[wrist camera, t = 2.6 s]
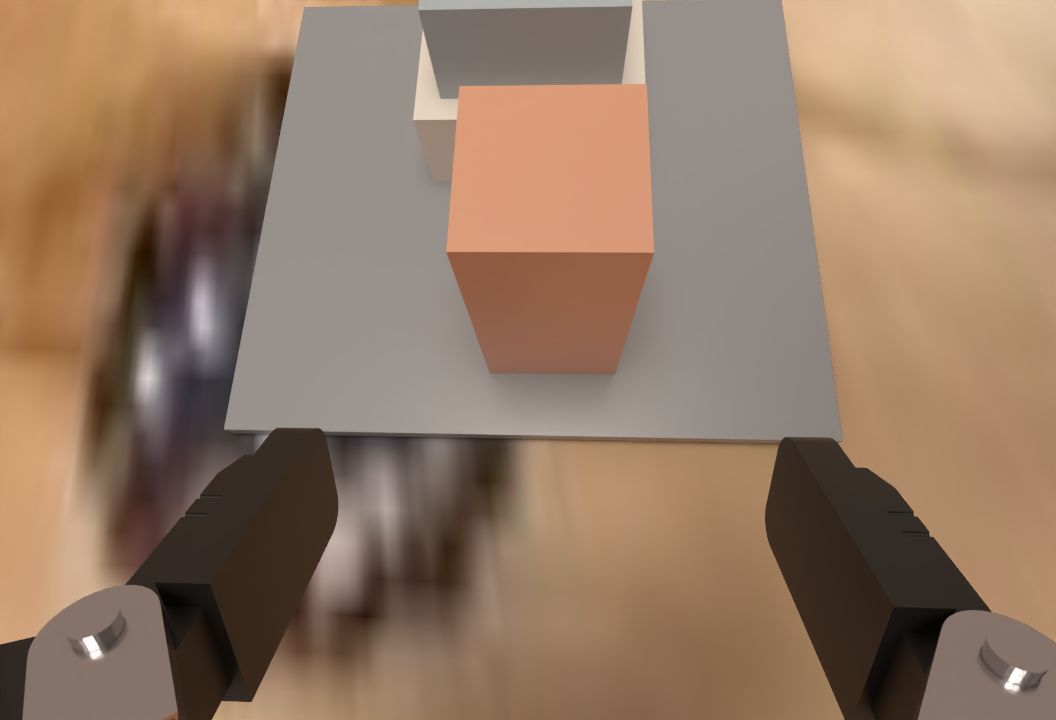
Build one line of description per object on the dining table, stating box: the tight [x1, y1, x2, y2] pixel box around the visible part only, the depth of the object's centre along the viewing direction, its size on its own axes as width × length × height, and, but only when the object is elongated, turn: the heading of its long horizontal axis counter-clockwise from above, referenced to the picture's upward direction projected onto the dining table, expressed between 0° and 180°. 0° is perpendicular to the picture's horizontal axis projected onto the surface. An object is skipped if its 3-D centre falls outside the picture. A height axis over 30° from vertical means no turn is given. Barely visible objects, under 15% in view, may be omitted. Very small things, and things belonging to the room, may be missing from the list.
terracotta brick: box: [446, 84, 654, 375], centre depth 20 cm, size 5×5×10 cm
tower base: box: [413, 0, 645, 182], centre depth 24 cm, size 9×9×8 cm
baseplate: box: [224, 0, 843, 444], centre depth 27 cm, size 24×22×1 cm
